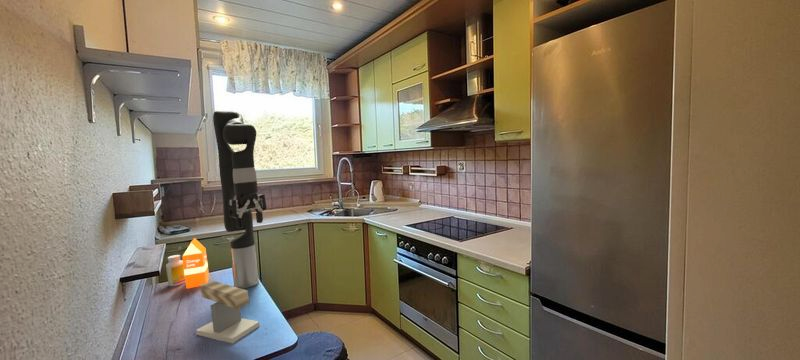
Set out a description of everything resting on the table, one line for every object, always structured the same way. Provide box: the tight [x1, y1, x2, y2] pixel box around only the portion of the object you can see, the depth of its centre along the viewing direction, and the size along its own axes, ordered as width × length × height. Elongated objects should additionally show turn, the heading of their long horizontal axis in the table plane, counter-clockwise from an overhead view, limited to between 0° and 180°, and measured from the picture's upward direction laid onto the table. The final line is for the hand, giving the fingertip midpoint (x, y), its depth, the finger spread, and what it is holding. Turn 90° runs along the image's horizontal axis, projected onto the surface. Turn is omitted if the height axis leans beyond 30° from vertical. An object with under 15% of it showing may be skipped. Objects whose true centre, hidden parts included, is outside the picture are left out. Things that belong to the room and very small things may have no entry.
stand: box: [195, 302, 260, 345], centre depth 103 cm, size 16×10×10 cm, turn 66°
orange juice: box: [181, 237, 210, 290], centre depth 146 cm, size 8×9×20 cm
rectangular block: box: [199, 280, 250, 309], centre depth 103 cm, size 20×4×4 cm, turn 58°
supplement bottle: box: [165, 254, 186, 287], centre depth 148 cm, size 7×7×13 cm
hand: (250, 225), depth 117 cm, fingers open, 8 cm apart
